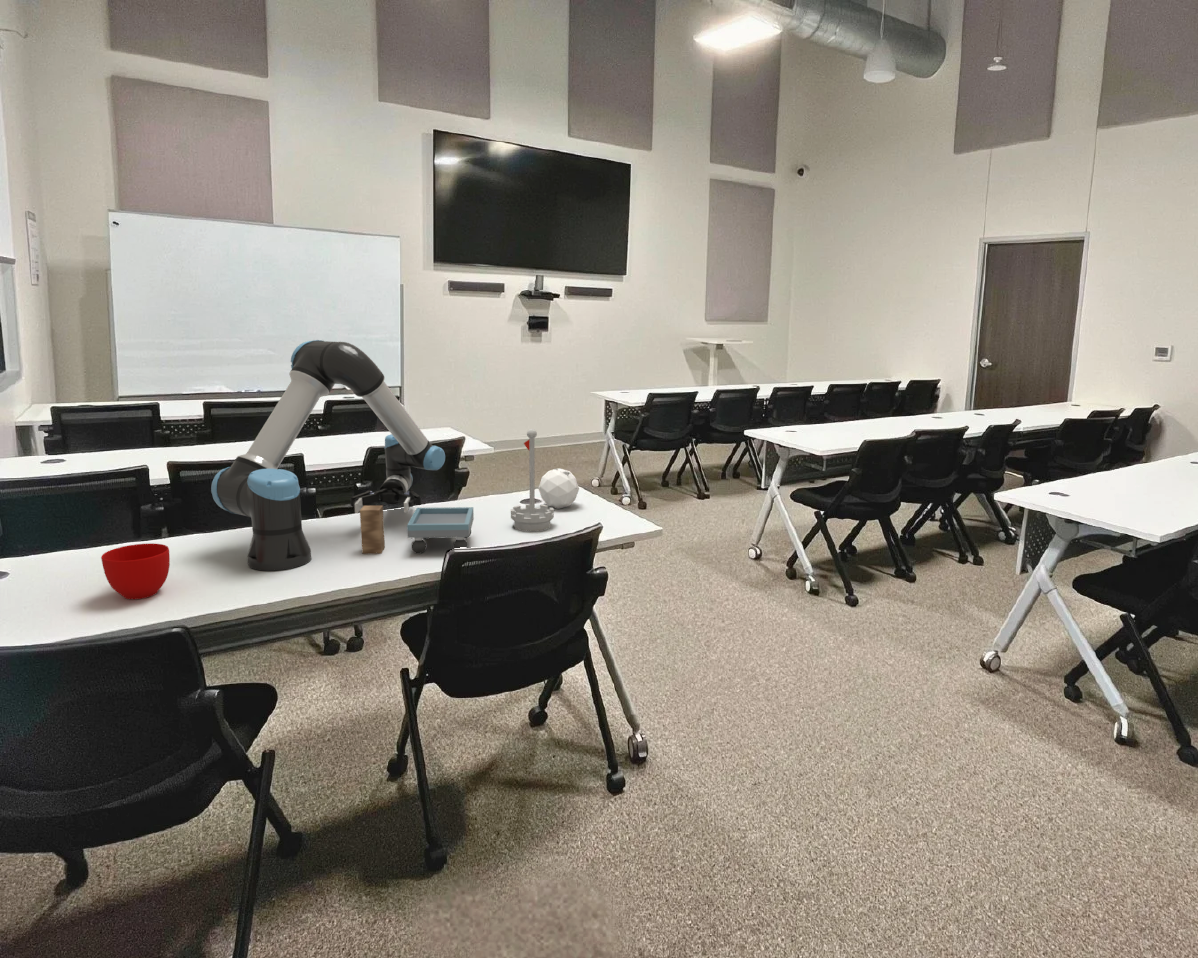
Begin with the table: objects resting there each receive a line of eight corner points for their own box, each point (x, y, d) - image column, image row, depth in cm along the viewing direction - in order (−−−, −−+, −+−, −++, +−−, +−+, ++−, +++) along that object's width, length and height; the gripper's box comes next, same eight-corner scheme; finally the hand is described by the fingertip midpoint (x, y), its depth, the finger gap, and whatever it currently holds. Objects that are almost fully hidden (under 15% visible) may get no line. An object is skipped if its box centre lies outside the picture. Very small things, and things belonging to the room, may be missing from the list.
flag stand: (561, 528, 226) (562, 430, 219) (523, 534, 219) (523, 433, 212) (540, 518, 236) (539, 424, 230) (503, 524, 229) (502, 427, 223)
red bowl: (160, 575, 181) (156, 536, 179) (180, 595, 169) (175, 553, 167) (97, 588, 172) (92, 546, 170) (113, 609, 160) (108, 565, 158)
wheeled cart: (408, 555, 198) (407, 525, 196) (418, 536, 216) (416, 507, 214) (469, 554, 200) (468, 524, 198) (474, 535, 217) (473, 507, 215)
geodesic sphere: (595, 490, 250) (575, 455, 252) (574, 498, 239) (552, 462, 240) (567, 510, 258) (547, 477, 259) (544, 519, 246) (523, 484, 248)
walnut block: (362, 553, 199) (359, 510, 197) (366, 548, 204) (363, 505, 202) (381, 553, 200) (379, 510, 197) (384, 547, 205) (382, 505, 202)
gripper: (435, 501, 233) (426, 520, 213) (353, 502, 231) (336, 521, 210) (434, 477, 231) (425, 494, 211) (351, 478, 229) (334, 496, 208)
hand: (380, 508), depth 210 cm, fingers open, 13 cm apart
